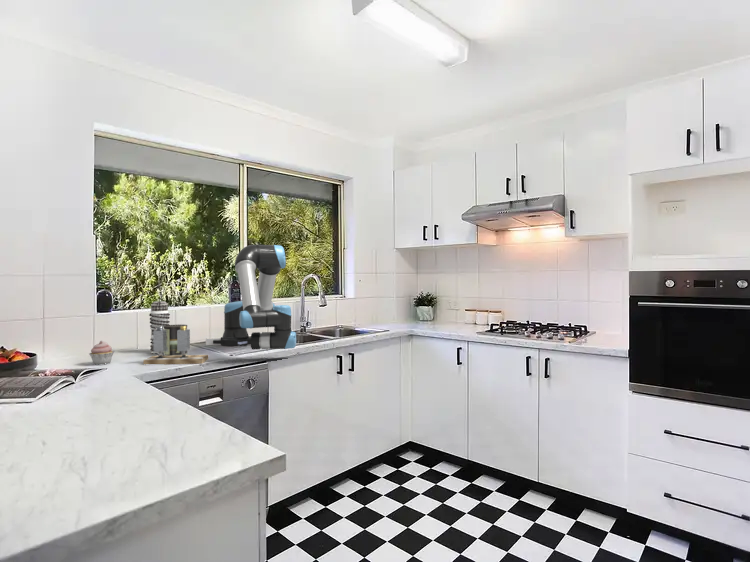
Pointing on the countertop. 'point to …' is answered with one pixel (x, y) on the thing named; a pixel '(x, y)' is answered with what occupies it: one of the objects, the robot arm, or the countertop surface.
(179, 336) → the block
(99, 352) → the cupcake
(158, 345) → the fixed leg
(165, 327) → the coffee can
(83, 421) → the countertop surface
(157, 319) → the decorative candle
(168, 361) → the board
